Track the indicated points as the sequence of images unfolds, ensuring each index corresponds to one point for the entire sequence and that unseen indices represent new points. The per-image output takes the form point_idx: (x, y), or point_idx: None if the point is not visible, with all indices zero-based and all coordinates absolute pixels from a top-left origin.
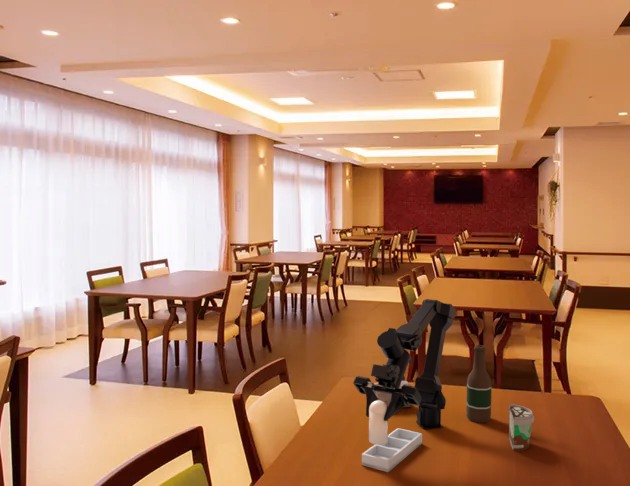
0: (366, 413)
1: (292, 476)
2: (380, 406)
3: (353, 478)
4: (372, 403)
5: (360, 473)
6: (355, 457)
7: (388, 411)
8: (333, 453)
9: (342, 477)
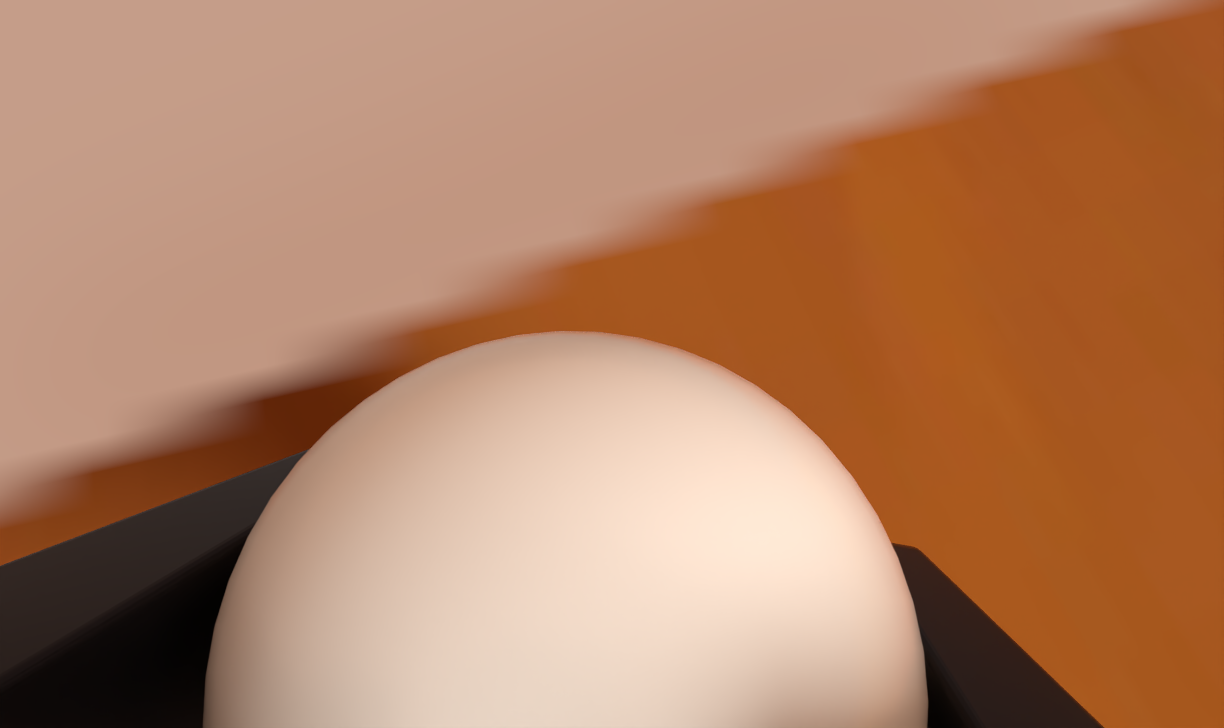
0: (922, 564)
1: (1204, 56)
2: (391, 400)
3: (710, 232)
4: (781, 473)
5: (690, 348)
6: None
7: (156, 518)
8: (1200, 694)
9: (809, 209)
